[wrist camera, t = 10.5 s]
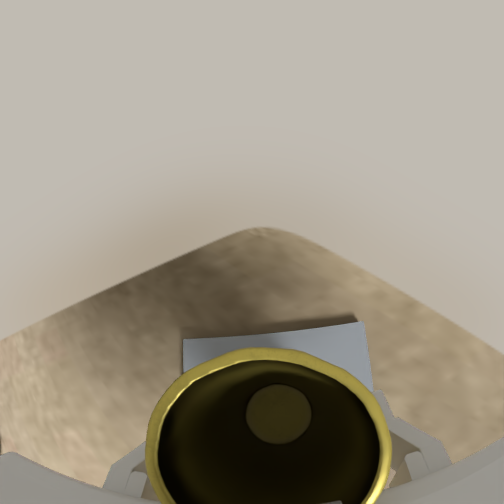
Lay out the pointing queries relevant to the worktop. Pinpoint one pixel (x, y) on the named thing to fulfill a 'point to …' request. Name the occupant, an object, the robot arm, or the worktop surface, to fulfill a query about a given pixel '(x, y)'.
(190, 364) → the tile
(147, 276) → the worktop surface
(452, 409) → the worktop surface
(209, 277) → the worktop surface
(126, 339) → the worktop surface
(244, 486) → the vase
